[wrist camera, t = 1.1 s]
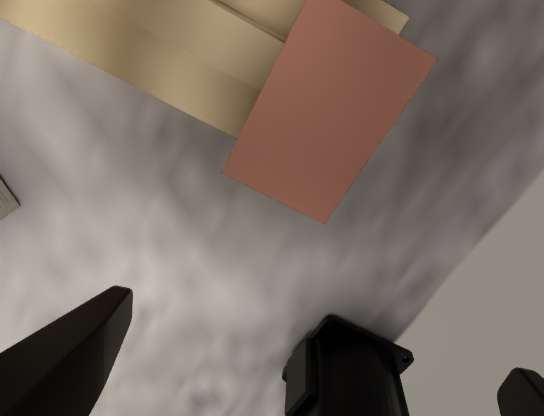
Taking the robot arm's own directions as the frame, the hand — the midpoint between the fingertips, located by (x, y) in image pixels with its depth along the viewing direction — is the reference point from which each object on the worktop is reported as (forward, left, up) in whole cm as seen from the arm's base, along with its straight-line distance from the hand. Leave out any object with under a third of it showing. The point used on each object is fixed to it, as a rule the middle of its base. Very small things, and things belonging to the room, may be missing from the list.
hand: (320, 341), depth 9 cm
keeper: (+2, -3, -11) cm, 12 cm away
